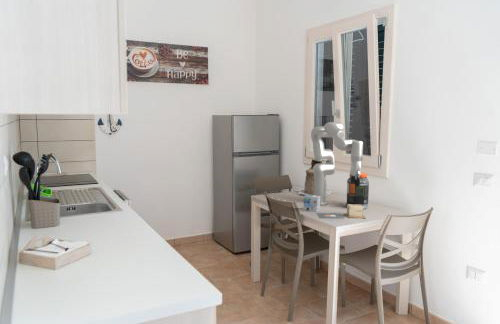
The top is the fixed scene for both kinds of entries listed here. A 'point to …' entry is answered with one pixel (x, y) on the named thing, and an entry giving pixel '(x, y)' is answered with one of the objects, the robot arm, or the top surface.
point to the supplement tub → (358, 191)
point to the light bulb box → (311, 203)
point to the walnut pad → (355, 217)
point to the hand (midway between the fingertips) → (355, 183)
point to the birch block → (354, 210)
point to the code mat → (330, 215)
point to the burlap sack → (311, 180)
